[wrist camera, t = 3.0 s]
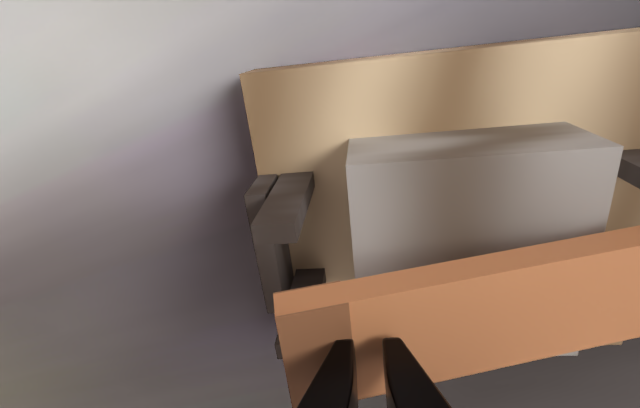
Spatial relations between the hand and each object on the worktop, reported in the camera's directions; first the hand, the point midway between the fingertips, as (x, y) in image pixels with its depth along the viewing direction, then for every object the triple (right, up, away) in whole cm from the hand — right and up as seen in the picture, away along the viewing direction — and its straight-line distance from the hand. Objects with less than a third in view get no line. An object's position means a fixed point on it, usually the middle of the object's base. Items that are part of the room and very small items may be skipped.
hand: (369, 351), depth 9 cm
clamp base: (+4, +3, +7) cm, 9 cm away
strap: (+4, +1, +1) cm, 4 cm away
